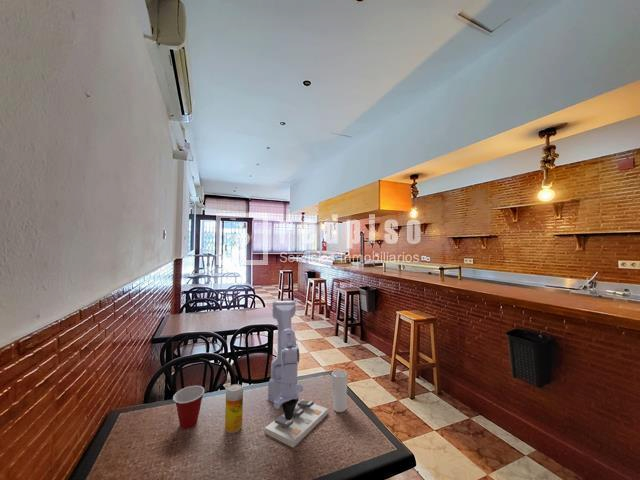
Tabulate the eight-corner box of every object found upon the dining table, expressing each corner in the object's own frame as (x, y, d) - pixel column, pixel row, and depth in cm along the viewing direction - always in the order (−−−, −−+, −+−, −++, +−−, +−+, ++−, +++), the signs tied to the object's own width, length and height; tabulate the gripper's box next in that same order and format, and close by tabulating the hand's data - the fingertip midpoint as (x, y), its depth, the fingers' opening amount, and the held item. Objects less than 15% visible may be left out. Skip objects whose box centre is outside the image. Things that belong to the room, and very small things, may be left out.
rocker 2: (287, 414, 106) (286, 411, 106) (292, 410, 109) (291, 407, 109) (299, 416, 103) (298, 413, 103) (304, 412, 106) (303, 409, 106)
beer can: (236, 435, 97) (238, 392, 98) (221, 432, 99) (222, 390, 99) (244, 424, 103) (246, 384, 104) (230, 422, 104) (231, 382, 105)
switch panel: (264, 433, 99) (265, 426, 99) (302, 403, 118) (302, 397, 118) (293, 447, 92) (293, 440, 92) (327, 413, 111) (327, 407, 111)
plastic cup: (165, 428, 100) (166, 395, 101) (191, 413, 110) (192, 383, 110) (184, 438, 95) (185, 403, 96) (209, 421, 105) (210, 389, 105)
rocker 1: (274, 422, 100) (274, 419, 100) (280, 418, 103) (280, 415, 103) (287, 428, 97) (287, 424, 97) (292, 423, 100) (292, 420, 100)
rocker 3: (297, 406, 112) (297, 403, 112) (302, 402, 115) (301, 399, 115) (309, 407, 109) (309, 404, 109) (313, 403, 111) (313, 401, 112)
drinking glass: (347, 405, 117) (347, 370, 118) (347, 414, 111) (347, 377, 111) (332, 404, 118) (332, 369, 119) (330, 413, 111) (330, 376, 112)
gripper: (285, 392, 91) (284, 434, 91) (309, 376, 103) (308, 412, 103) (269, 386, 95) (268, 426, 94) (294, 371, 107) (294, 406, 107)
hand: (288, 418), depth 99 cm, fingers closed
